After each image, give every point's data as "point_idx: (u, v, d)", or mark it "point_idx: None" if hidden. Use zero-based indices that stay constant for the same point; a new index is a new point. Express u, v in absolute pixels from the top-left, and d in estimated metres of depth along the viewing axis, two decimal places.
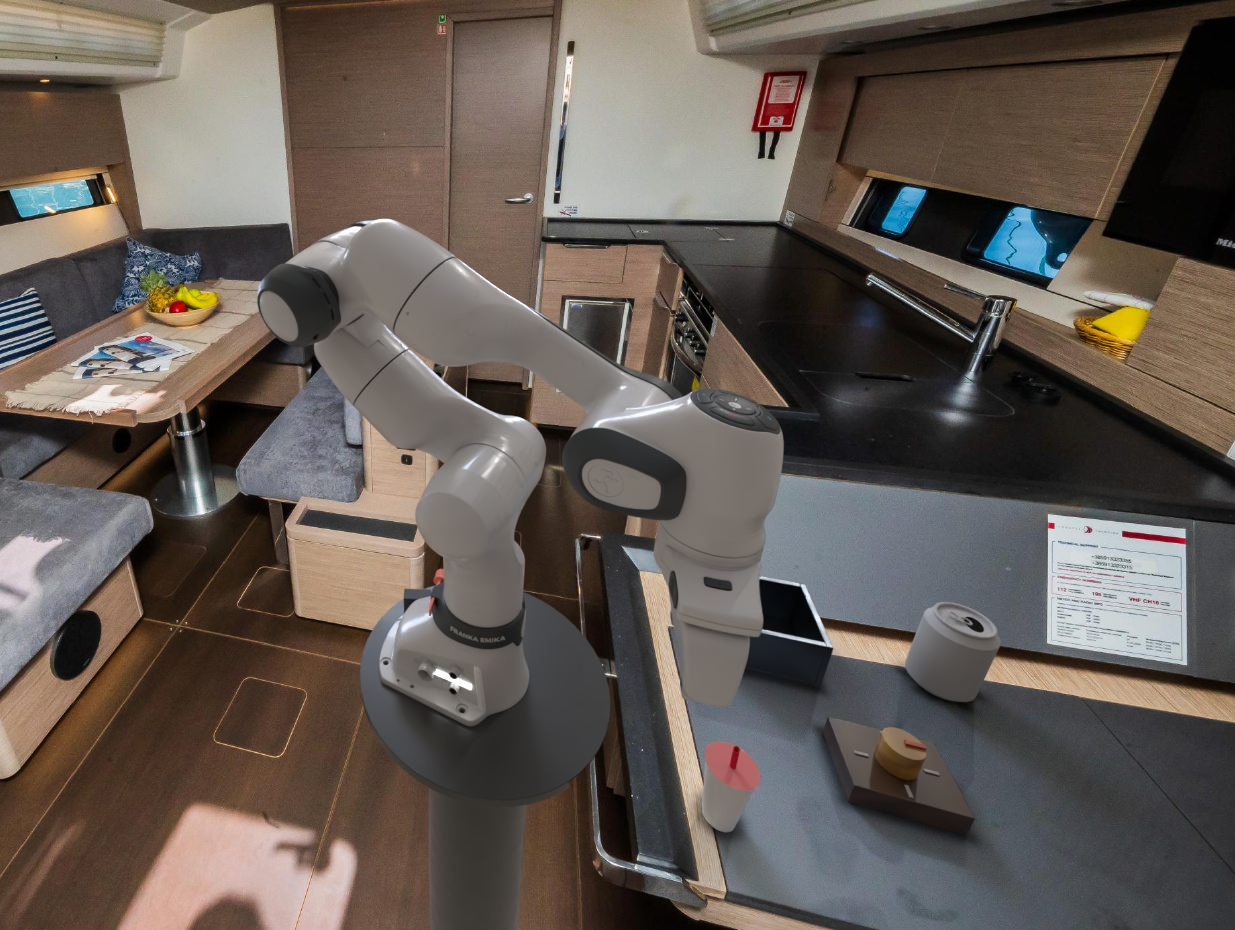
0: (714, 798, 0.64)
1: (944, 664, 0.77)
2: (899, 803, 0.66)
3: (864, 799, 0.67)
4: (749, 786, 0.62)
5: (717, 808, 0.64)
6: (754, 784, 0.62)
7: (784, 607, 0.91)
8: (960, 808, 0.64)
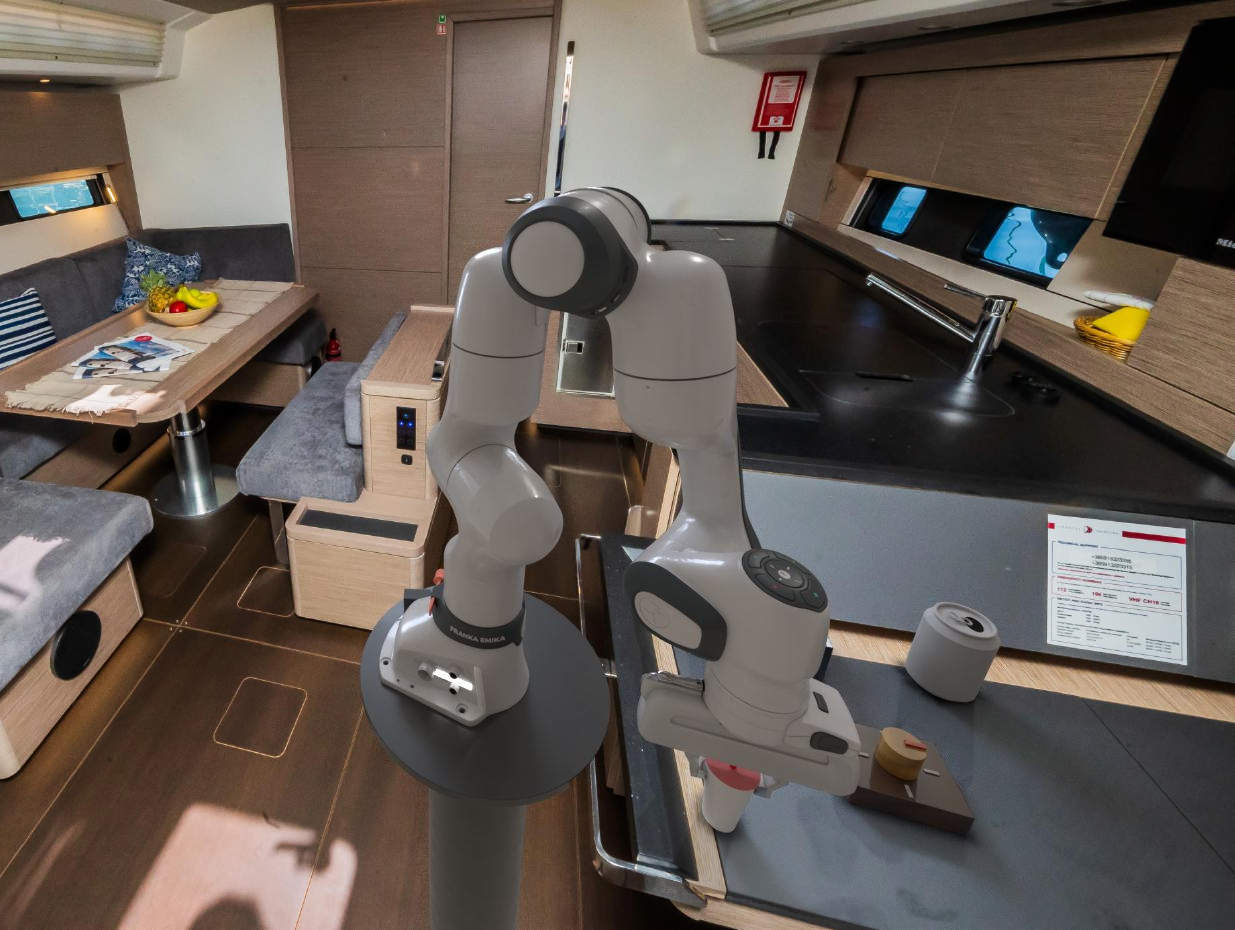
0: (714, 798, 0.64)
1: (944, 664, 0.77)
2: (899, 803, 0.66)
3: (864, 799, 0.67)
4: (749, 786, 0.62)
5: (717, 808, 0.64)
6: (754, 784, 0.62)
7: None
8: (960, 808, 0.64)
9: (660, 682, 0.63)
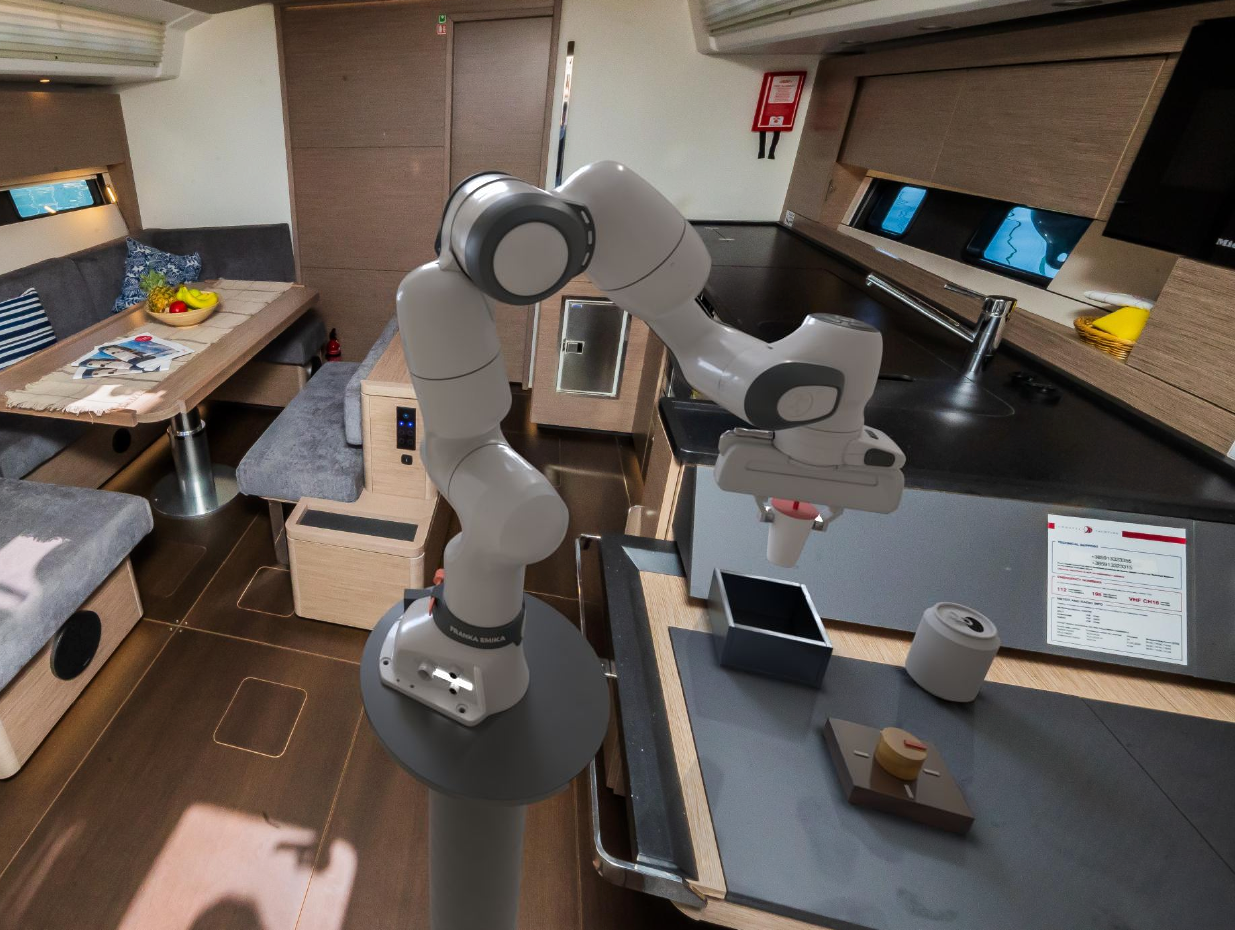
0: (779, 536, 0.78)
1: (944, 664, 0.77)
2: (899, 803, 0.66)
3: (864, 799, 0.67)
4: (810, 517, 0.76)
5: (782, 544, 0.79)
6: (814, 516, 0.76)
7: (784, 607, 0.91)
8: (960, 808, 0.64)
9: (737, 436, 0.77)
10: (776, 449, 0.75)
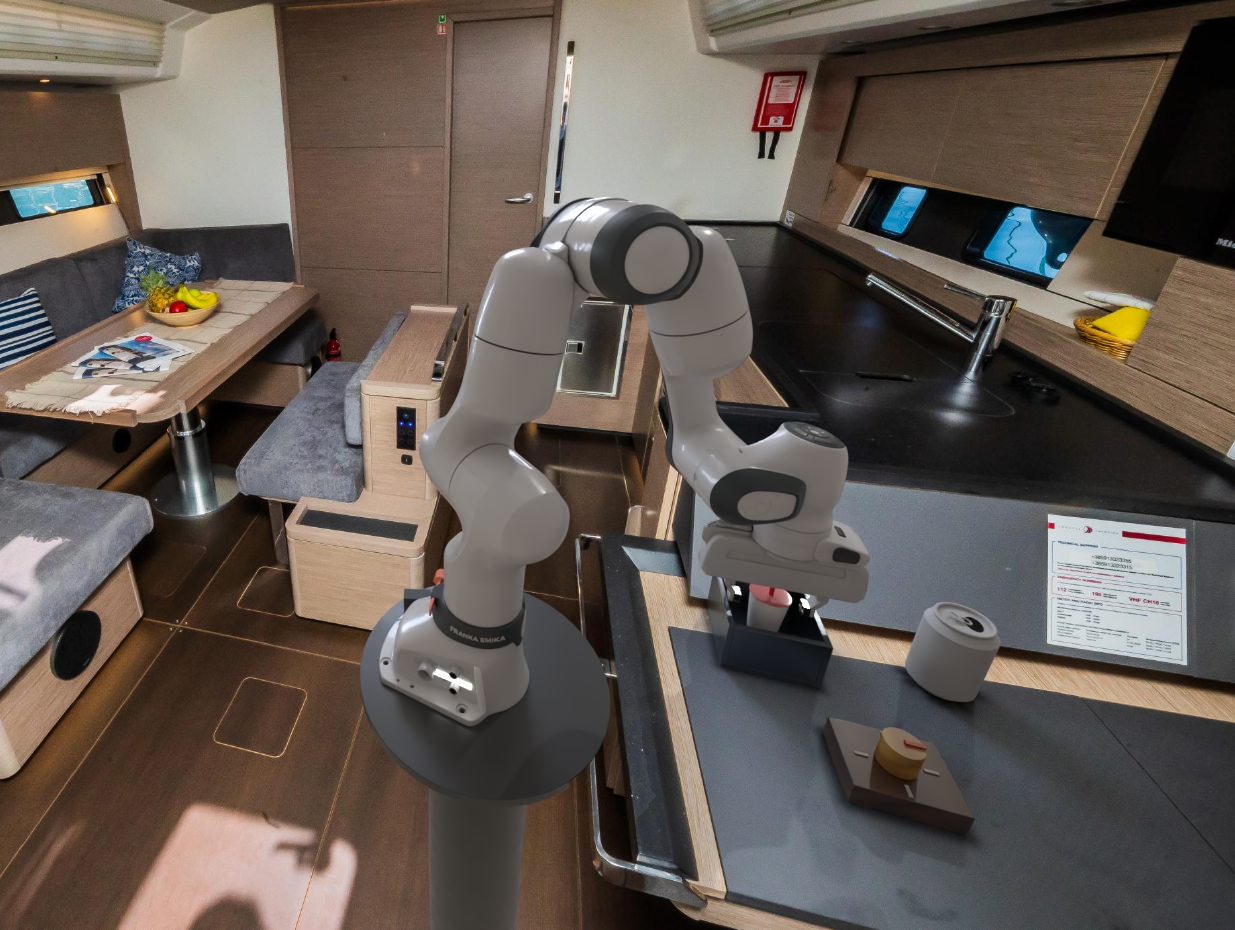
0: (757, 619, 0.86)
1: (944, 663, 0.77)
2: (899, 803, 0.66)
3: (864, 799, 0.67)
4: (784, 605, 0.83)
5: (759, 627, 0.86)
6: (788, 604, 0.83)
7: None
8: (960, 808, 0.64)
9: (718, 527, 0.84)
10: (754, 541, 0.82)
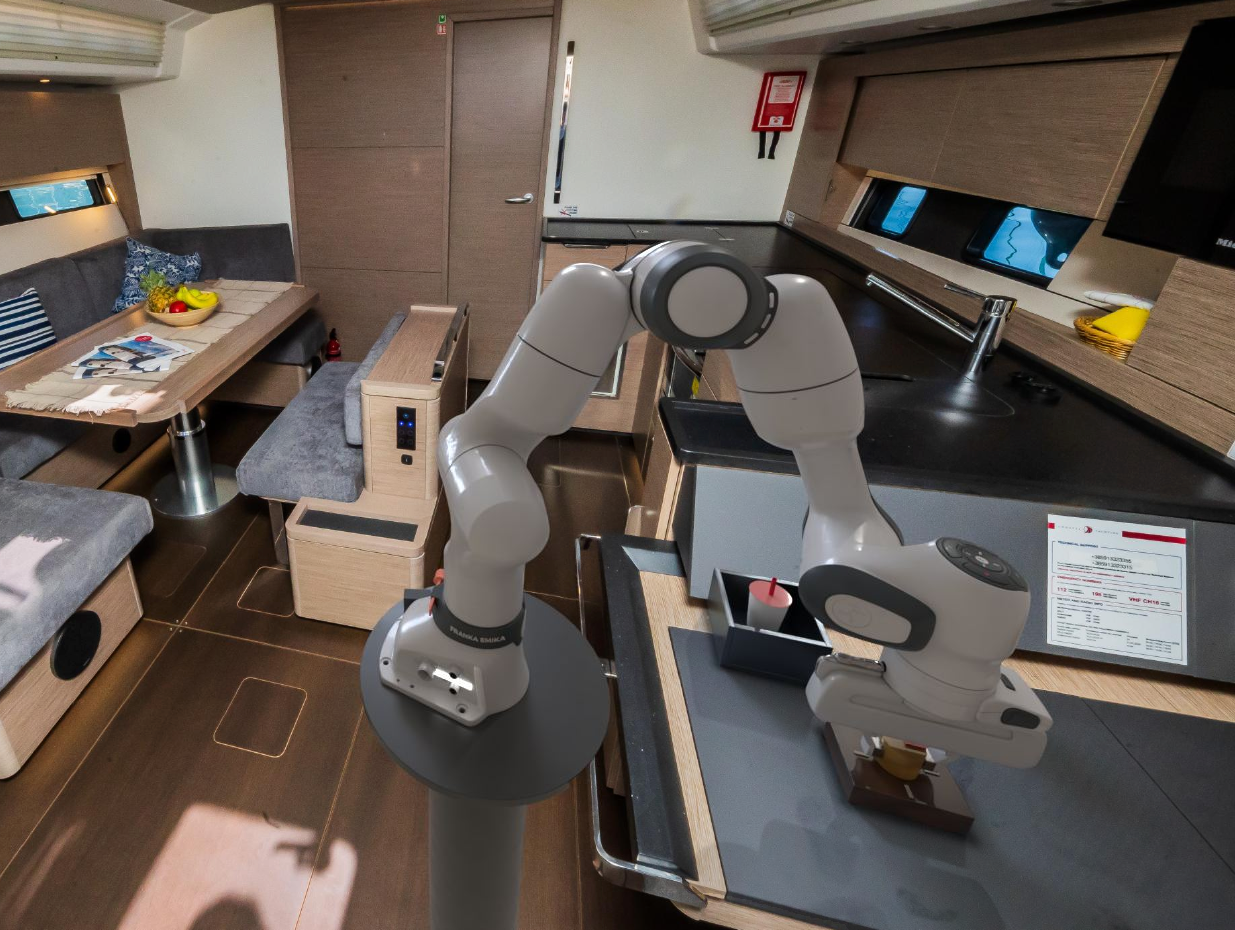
0: (757, 619, 0.86)
1: None
2: (899, 803, 0.66)
3: (864, 799, 0.67)
4: (784, 605, 0.83)
5: (759, 627, 0.86)
6: (787, 604, 0.84)
7: None
8: (960, 808, 0.64)
9: (839, 664, 0.66)
10: (888, 686, 0.64)
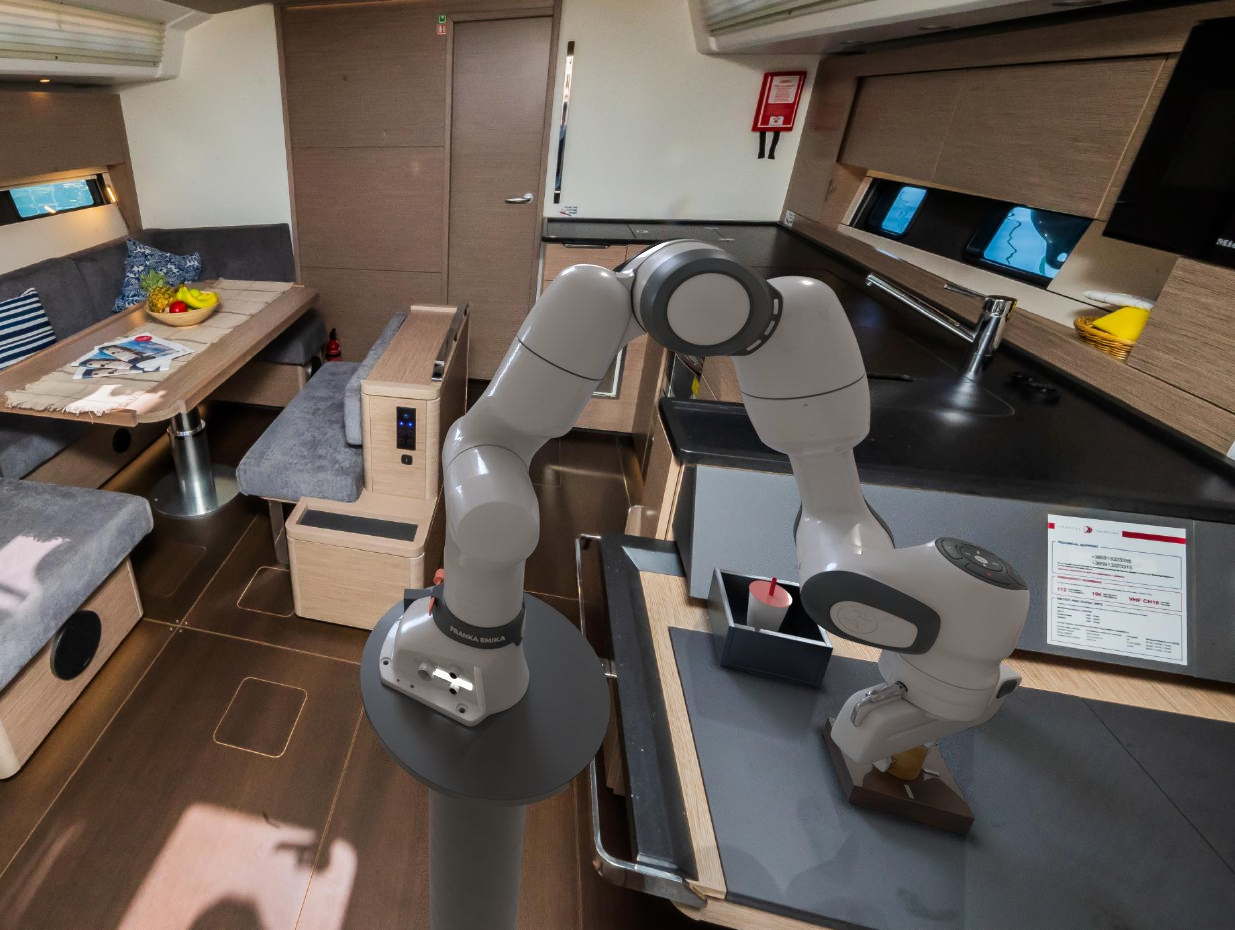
0: (757, 619, 0.86)
1: None
2: (899, 803, 0.66)
3: (864, 799, 0.67)
4: (784, 605, 0.83)
5: (759, 627, 0.86)
6: (787, 604, 0.84)
7: None
8: (960, 808, 0.64)
9: (873, 704, 0.62)
10: (914, 706, 0.62)
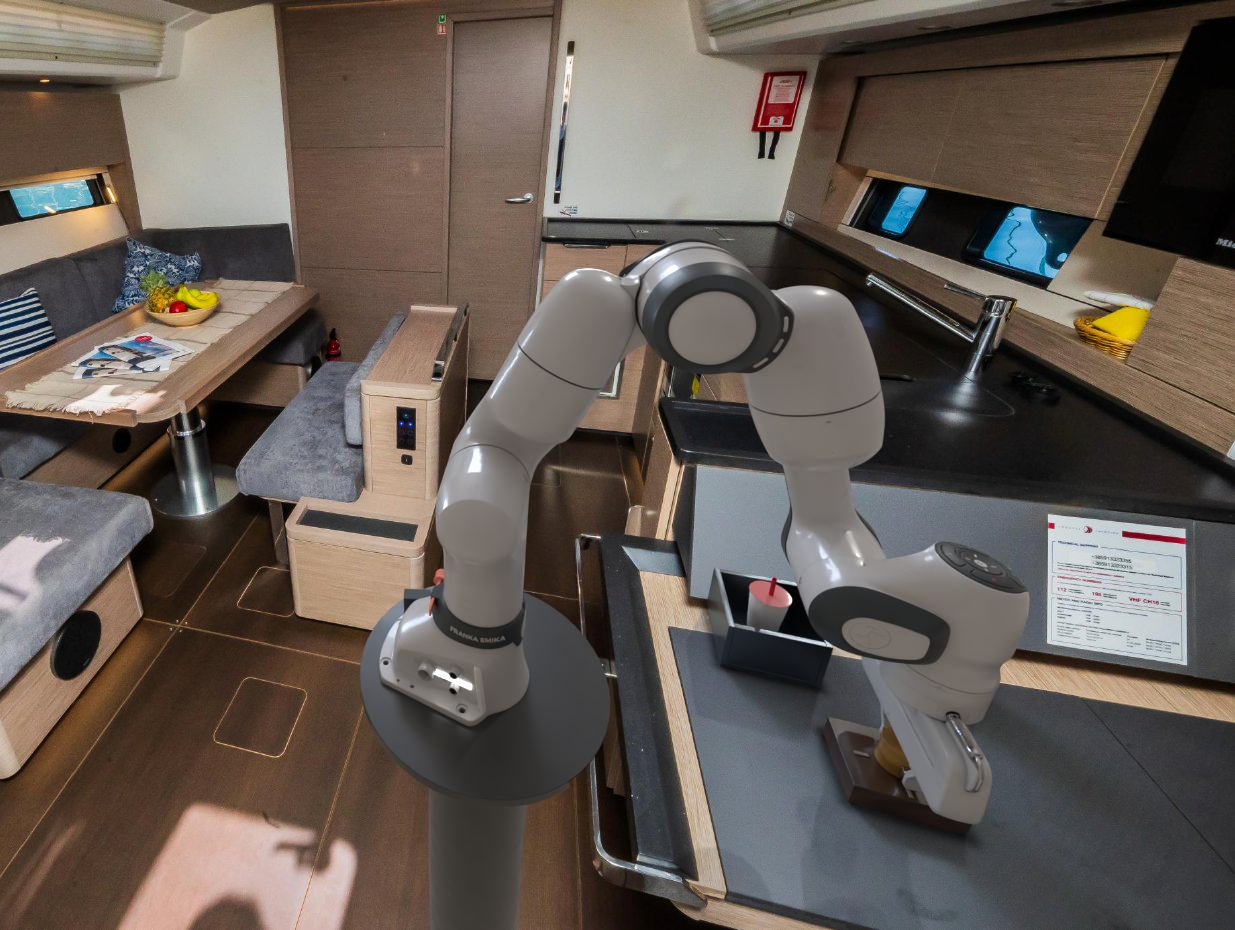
0: (757, 619, 0.86)
1: None
2: (899, 803, 0.66)
3: (864, 799, 0.67)
4: (784, 605, 0.83)
5: (759, 627, 0.86)
6: (787, 604, 0.84)
7: None
8: None
9: None
10: (966, 726, 0.60)
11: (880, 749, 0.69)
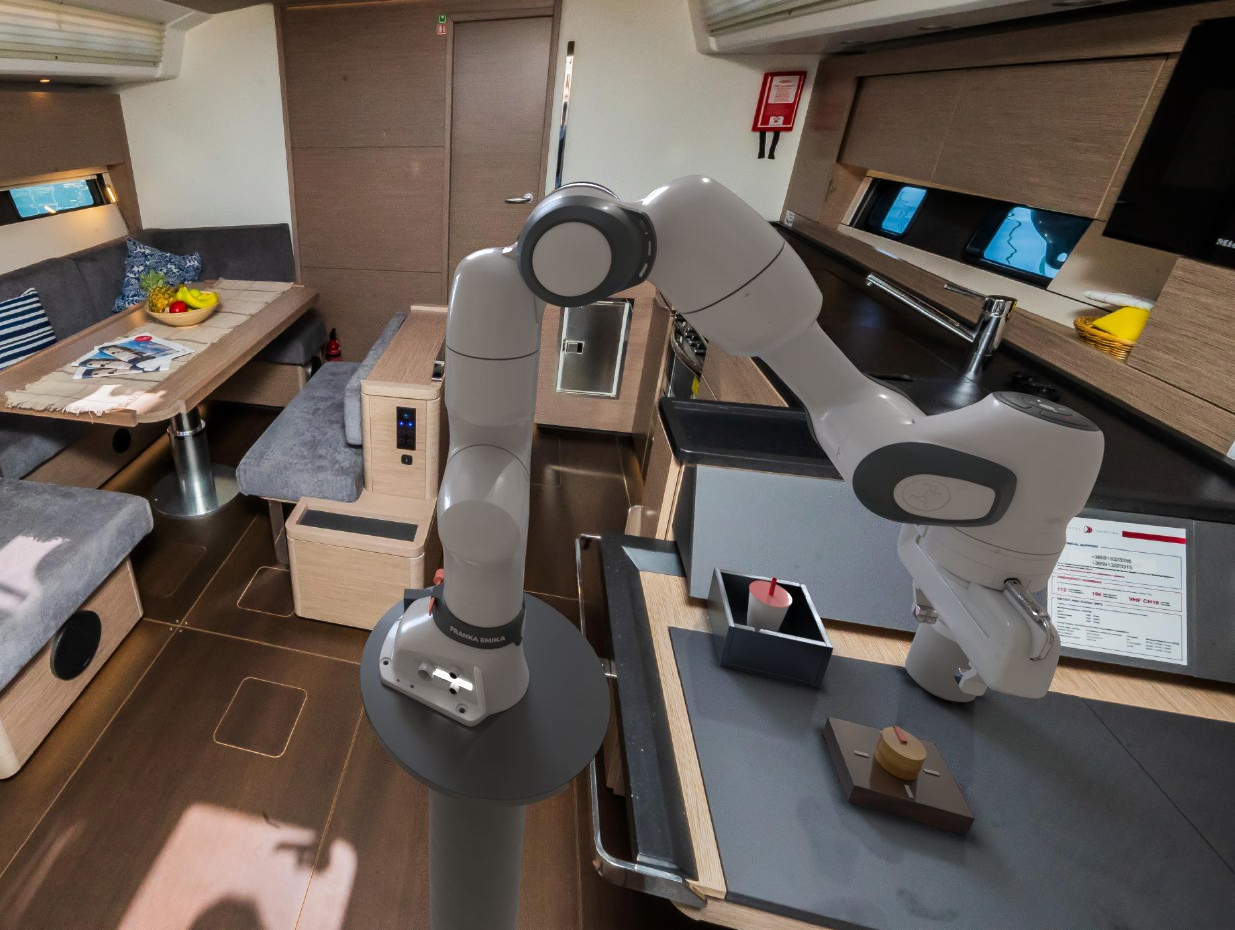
0: (757, 619, 0.86)
1: (944, 663, 0.77)
2: (899, 803, 0.66)
3: (864, 799, 0.67)
4: (784, 605, 0.83)
5: (759, 627, 0.86)
6: (787, 604, 0.84)
7: None
8: (960, 808, 0.64)
9: None
10: None
11: (880, 749, 0.69)
